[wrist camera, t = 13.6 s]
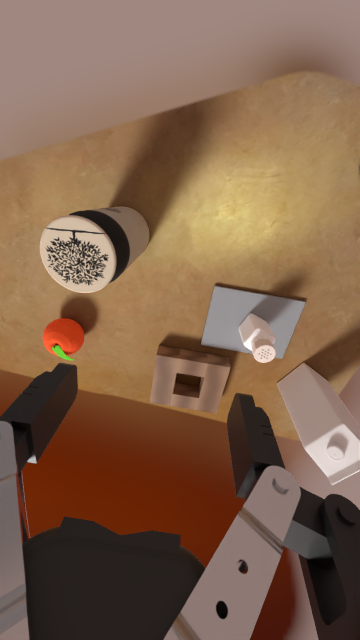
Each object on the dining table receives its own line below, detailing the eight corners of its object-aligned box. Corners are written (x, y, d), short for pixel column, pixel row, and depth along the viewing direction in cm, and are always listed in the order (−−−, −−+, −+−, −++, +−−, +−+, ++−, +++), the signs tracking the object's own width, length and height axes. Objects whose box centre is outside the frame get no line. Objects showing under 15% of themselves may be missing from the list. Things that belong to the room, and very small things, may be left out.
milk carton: (327, 380, 50) (393, 472, 33) (299, 400, 53) (347, 495, 36) (303, 361, 49) (360, 449, 32) (276, 383, 52) (314, 474, 35)
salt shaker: (250, 310, 44) (262, 338, 36) (268, 321, 45) (284, 350, 36) (236, 327, 46) (245, 357, 37) (254, 337, 46) (267, 369, 38)
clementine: (100, 339, 50) (85, 360, 43) (72, 352, 51) (55, 373, 45) (75, 306, 47) (56, 323, 40) (47, 320, 48) (25, 339, 42)
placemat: (304, 300, 43) (305, 302, 43) (281, 356, 49) (282, 358, 48) (214, 285, 43) (214, 286, 43) (200, 343, 48) (200, 344, 48)
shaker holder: (228, 356, 49) (230, 367, 46) (215, 401, 55) (216, 413, 52) (159, 344, 49) (156, 355, 46) (152, 390, 55) (149, 402, 51)
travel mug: (145, 263, 42) (113, 303, 26) (99, 251, 42) (37, 285, 26) (153, 213, 39) (122, 224, 22) (103, 200, 38) (34, 202, 22)
